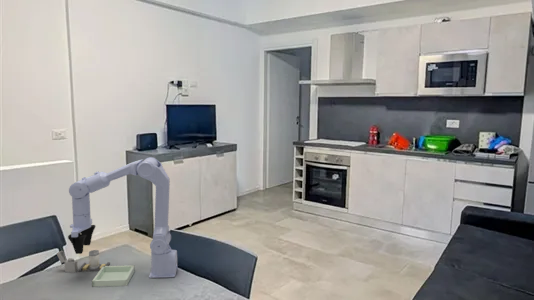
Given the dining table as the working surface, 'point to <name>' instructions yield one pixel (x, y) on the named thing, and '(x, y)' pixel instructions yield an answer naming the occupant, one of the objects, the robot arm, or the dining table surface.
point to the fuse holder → (86, 269)
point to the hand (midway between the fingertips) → (83, 249)
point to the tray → (113, 276)
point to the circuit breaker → (68, 263)
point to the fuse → (93, 259)
